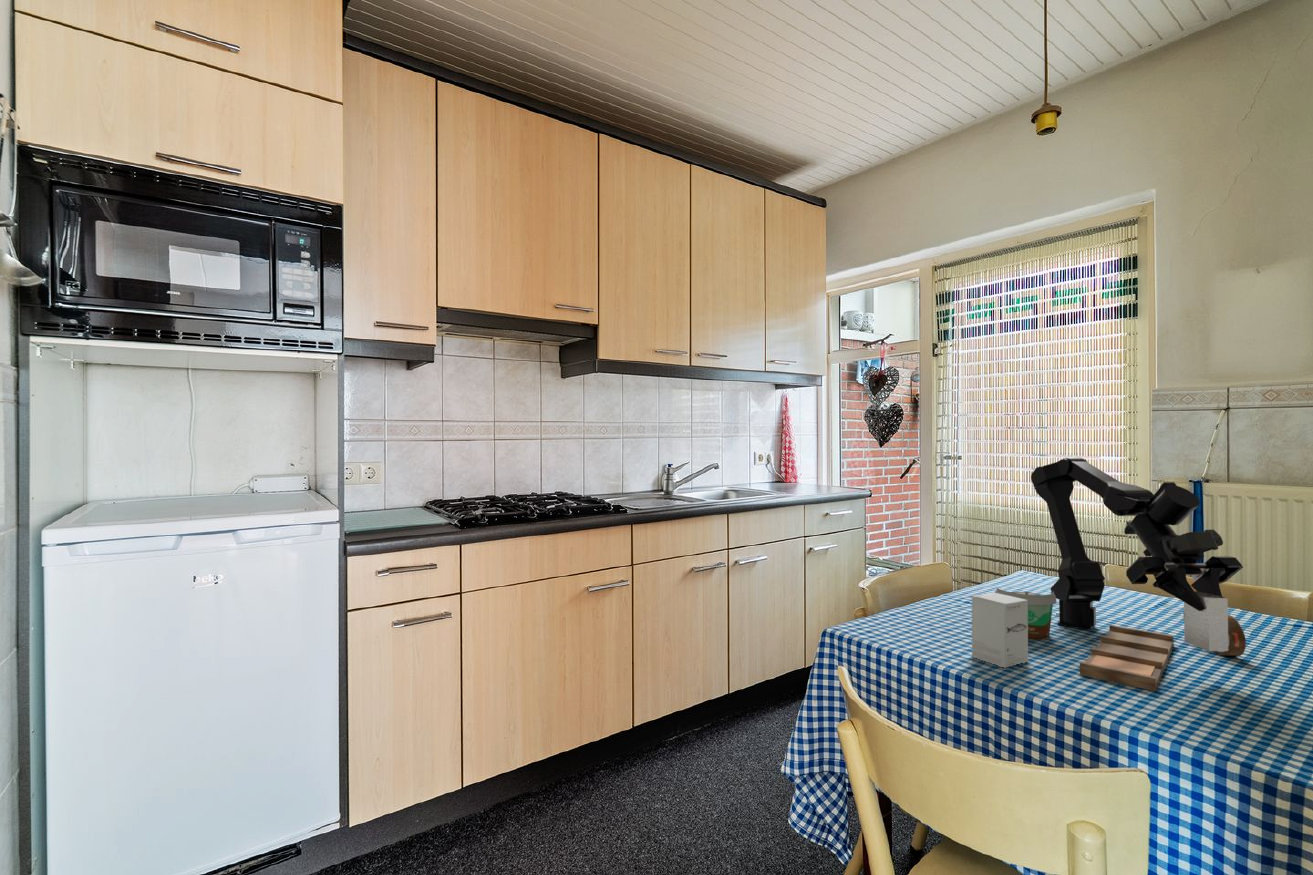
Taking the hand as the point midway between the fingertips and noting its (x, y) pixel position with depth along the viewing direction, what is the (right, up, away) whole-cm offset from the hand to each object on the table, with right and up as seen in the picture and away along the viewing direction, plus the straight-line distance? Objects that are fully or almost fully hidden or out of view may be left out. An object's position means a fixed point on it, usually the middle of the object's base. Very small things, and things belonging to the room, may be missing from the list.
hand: (1212, 609), depth 110 cm
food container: (-18, -14, +26) cm, 34 cm away
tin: (+16, -14, +18) cm, 27 cm away
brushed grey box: (0, -7, +1) cm, 7 cm away
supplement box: (-33, -14, +11) cm, 37 cm away
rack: (-6, -13, +11) cm, 19 cm away
